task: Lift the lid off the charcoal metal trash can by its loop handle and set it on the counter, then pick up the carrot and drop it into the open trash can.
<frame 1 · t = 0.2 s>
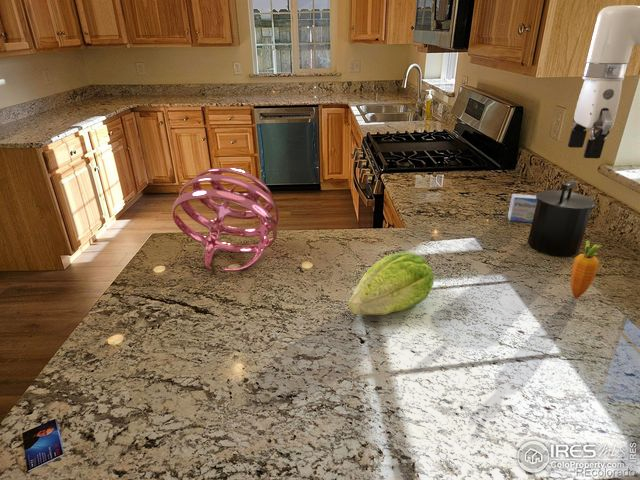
hand: (582, 152, 97), 33 cm above the countertop, tool pointing down, fingers open, 9 cm apart
bin lid: (564, 200, 121), point 14 cm above the countertop, touching trash can
trash can: (552, 246, 127), on the countertop
carrot: (575, 298, 102), on the countertop
medicine box: (520, 220, 145), on the countertop
pink openwork sphere: (234, 258, 122), on the countertop
lettuce: (387, 307, 100), on the countertop
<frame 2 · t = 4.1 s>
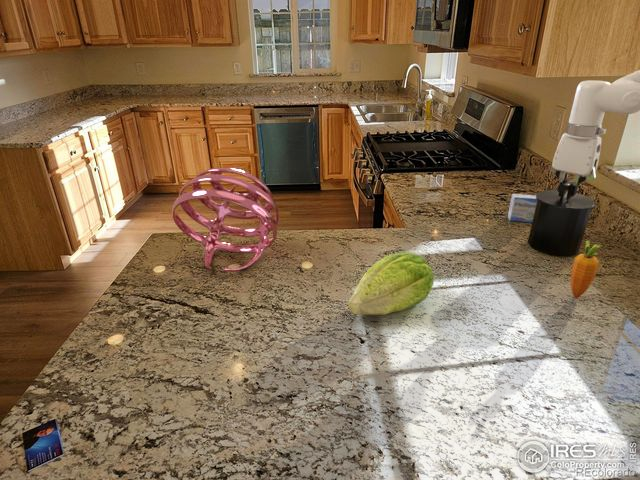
hand: (565, 196, 120), 16 cm above the countertop, tool pointing down, fingers closed on bin lid
bin lid: (564, 200, 121), point 15 cm above the countertop, touching gripper, trash can
everything else where it was.
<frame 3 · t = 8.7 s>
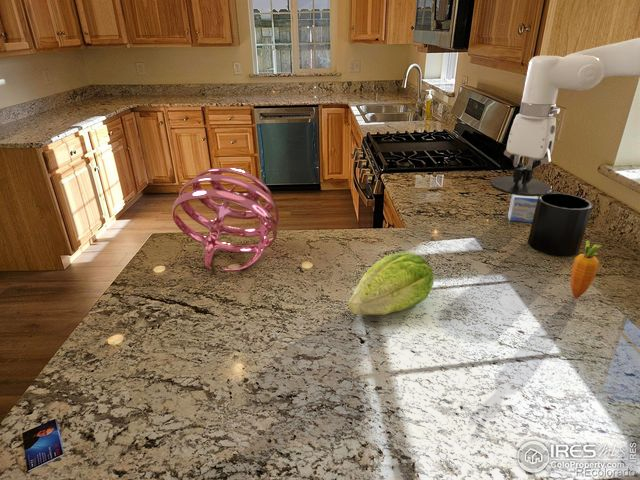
hand: (521, 181, 112), 22 cm above the countertop, tool pointing down, fingers closed on bin lid
bin lid: (520, 186, 113), point 21 cm above the countertop, touching gripper
everything else where it was.
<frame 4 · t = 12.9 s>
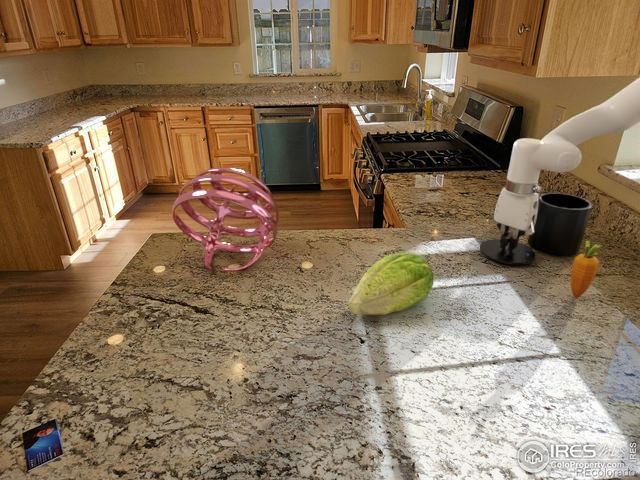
hand: (507, 247, 121), 3 cm above the countertop, tool pointing down, fingers closed on bin lid
bin lid: (506, 252, 121), point 1 cm above the countertop, touching gripper
everything else where it was.
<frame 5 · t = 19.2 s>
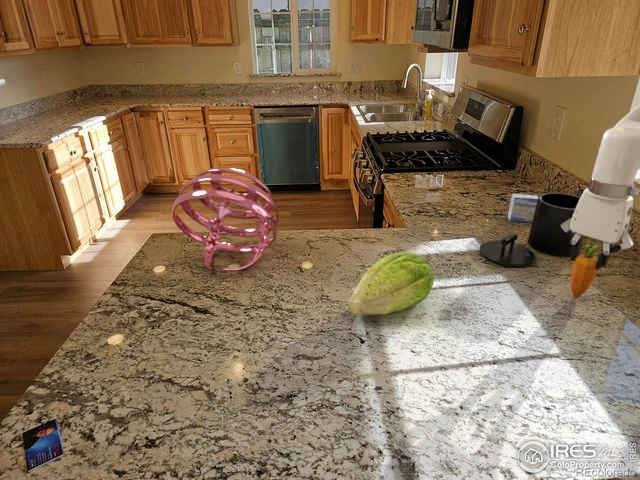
hand: (586, 262, 98), 10 cm above the countertop, tool pointing down, fingers closed on carrot, 4 cm apart
bin lid: (506, 253, 122), point 1 cm above the countertop
carrot: (575, 298, 102), on the countertop, touching gripper
everything else where it was.
when the fingers open (23 cm above the countertop, at t = 25.7 s): carrot drops 13 cm, resting on trash can.
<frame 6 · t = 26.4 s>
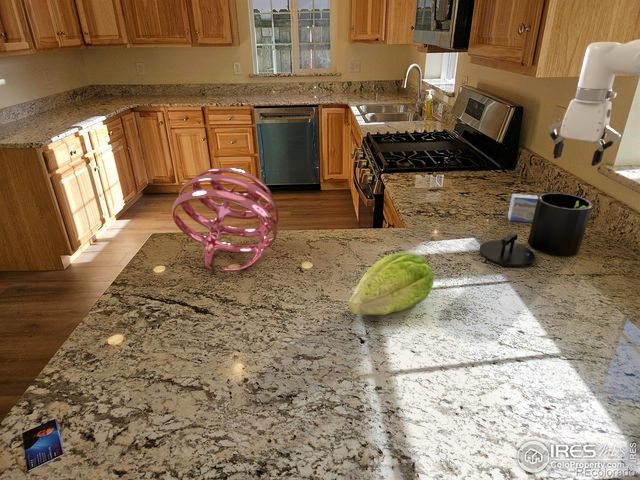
hand: (575, 161, 116), 26 cm above the countertop, tool pointing down, fingers open, 9 cm apart
carrot: (553, 244, 127), resting on trash can
everything else where it was.
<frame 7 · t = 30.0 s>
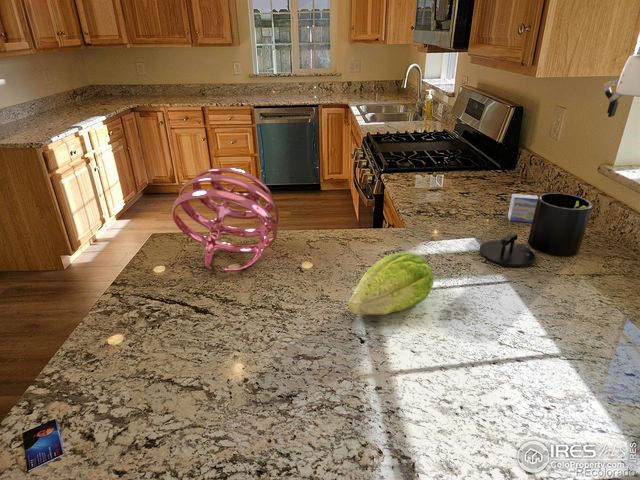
hand: (630, 118, 116), 36 cm above the countertop, tool pointing down, fingers open, 9 cm apart
nothing on the countertop moved.
at the end: bin lid inside the target area (0.5 cm from its centre), point 0.6 cm above the countertop; carrot inside the target area in the trash can (0.1 cm from its centre), point 0.5 cm above the trash can's base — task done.
